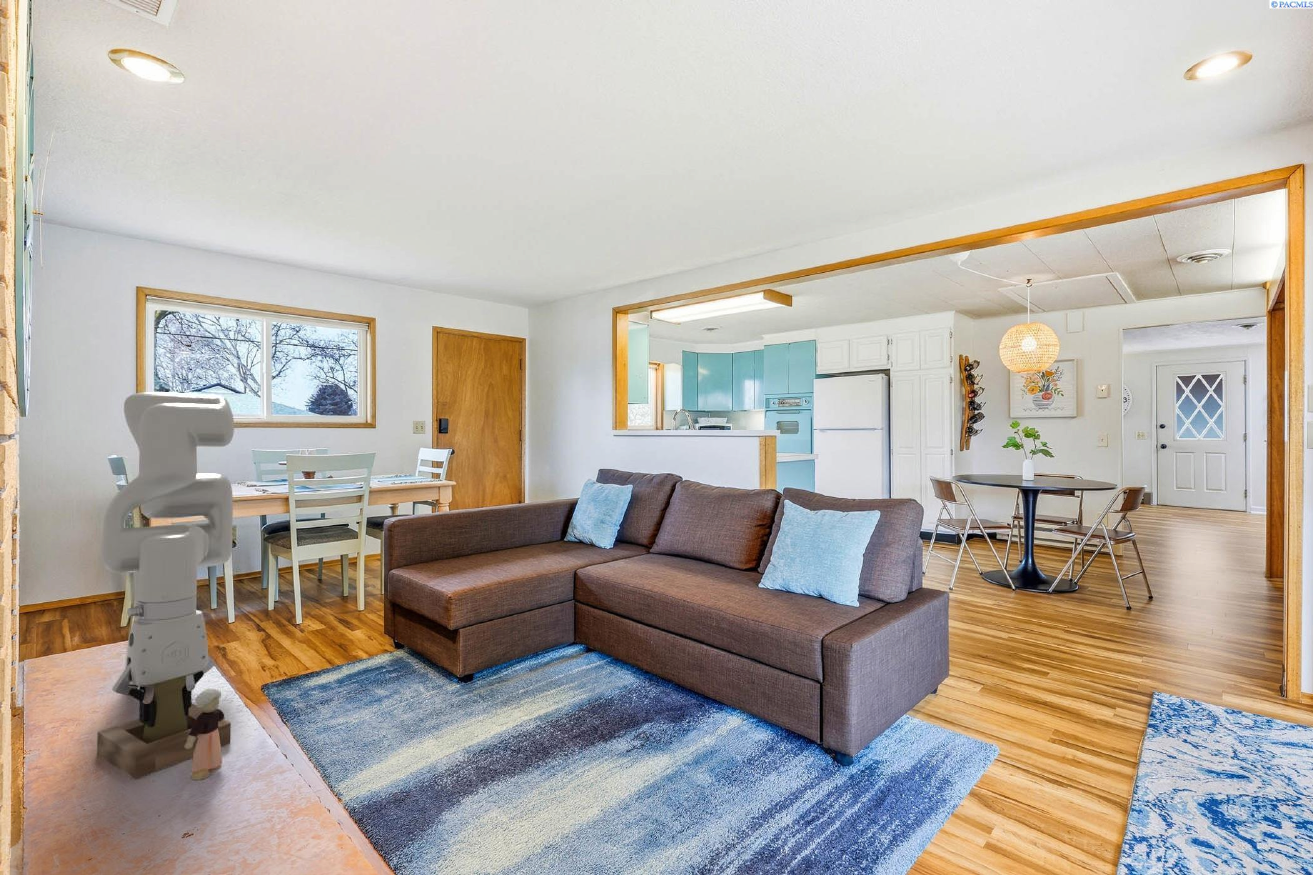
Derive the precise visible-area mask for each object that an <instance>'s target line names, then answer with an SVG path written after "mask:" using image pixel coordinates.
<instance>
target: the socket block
mask: <svg viewBox="0 0 1313 875" xmlns="http://www.w3.org/2000/svg"><path fill="white" fill-rule="evenodd" d="M201 713H202V711H200V709H199V707H197V706H196V704H194V703H192V702H191V707H190V708H189V714H188V715H187V716H186V720H187V727H188V730H186V731H183V732H180V733H177V734H174V735H171V736H169V737H166V738H163V739H160V740H157V741H154V742H151V743H148V744H146V743H145V742H143V741H142V739H143V733H144V728H145V724H143V723H142V722H140V720H139V718H138V719H133V720H131V721H128V722H124V723H121V724H118V725H115V726H112V727H108V728H106V729H102V730H99V731H97V734H96V735H97V741H96V742H97V743H96V744H97V746H96V753H97V755H99V756H100V757H102V758H103V759H105V760H106V761H107V762H109V763H110V764H112V765H114V767H116V768H117V769H119V770H121V772H123V773H125V774H126V775H128V776H129V777H131V778H132V779H133V780H138V779H141V778H144V777H146V776H149V775H151V773H152V774H154V773H157V772H159V771H163V770H164V769H168V768H169V767H172V766H175V765H177V764H181V763H182V762H185V761H188V760H191V759H193V754H194V750H195V747H196V743H197V741H198V737H196V739H195V741H194V742H193V747H192V748H190V749H185V744H186V743H187V739H188V735H189V733H190V731H191V729H192V727H193V725H194V723H195V721H196V719H197V717H198V716H199V715H200V714H201ZM231 728H232V722H230V721H229V720H226V725H224V726H219V723H218V731H219V738H220V745H221V748H222V747H224V746H227V745H230V744H231V738H232V737H231V736H232V735H231V732H232V730H231ZM143 776H144V777H143Z"/></svg>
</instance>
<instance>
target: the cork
mask: <svg viewBox="0 0 1313 875" xmlns="http://www.w3.org/2000/svg"><path fill="white" fill-rule="evenodd" d="M185 683H186V676H184V677H181V678H177V679H173V680H170V681H166V682H163V683H159V684H155V685H154V694H153V701H155V702H156V718H155V726H153V727H151V728H150V727H148V726H147V725H145V728H144V733H143V739H142V741H143V742H145V743H146V744H148V743H151V742H154V741H157V740H160V739H163V738H166V737H169V736H171V735H174V734H177V733H180V732H183V731H186V730H188V727H187V720H186V716H185V711H184V705H183V695H182V688H183V687H184V686H185Z"/></svg>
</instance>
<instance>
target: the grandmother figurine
mask: <svg viewBox="0 0 1313 875" xmlns="http://www.w3.org/2000/svg"><path fill="white" fill-rule="evenodd" d="M221 697H222V692H221V690H219V689H217V688H207V689H204V690H203V691H201V692H200V693H199V694H198V695H197V696H196V698H195V705H196V706H197V707H199V709H200V711H202V713H201V714H200V715H199V716H198V717H197V719H196V721H195V723H194V725H193V727H192V729H191V731H190V733H189V735H188V739H187V743H186V744H185V749H190V748H192V747H193V742H194V741H195V739H196V737H198V741H197V743H196V747H195V750H194V754H193V758H192V768H191V771H192V772H191V773H190V775H189V778H190V779H192V780H194V781H202V780H204V779H207V778H209V776H211V773H210V772H214V771H216V770H219V769H220V768H221V767H222V765H223V754H222V747H221V745H220V738H219V731H218V723H219V726H224V725H226V721H227V719H226V717H225V713H224V712H223V711H222V710H221V709H219V708H218V707H219V706H220V699H221Z"/></svg>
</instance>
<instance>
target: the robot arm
mask: <svg viewBox="0 0 1313 875" xmlns="http://www.w3.org/2000/svg"><path fill="white" fill-rule="evenodd" d="M123 413H124V417H125V422H126V424H127V426H128V429H129V431H130V434H131V436H132V437H133V440H134V441H135V443H136V445H137V448H138V452H139V454H138V455H139V456H138V457H139V458H138V475H137V476H136V477H135V478H134V479H132V480H130V482H128V483H127V484H125V486H124V487H123V488H121V489H120V490H119V492H117V493H116V495H115V496H114V497H113V498H112V499H111V501H110V502H109V504H108V506H107V508H106V510H105V513H104V517H103V524H102V525H103V526H102V540H101V559H102V560H101V561H102V563H103V566H104V567H105V568H106V569H107V570H108V571H110V572H111V573H116V574H131V573H133V581H134V582H133V586H134V589H133V590H134V592H133V593H134V595H133V596H134V601H133V602H134V606H133V607H129V608H127V611H126V613H127V616H128V617H133V622H132V624H131V629H130V632H129V636H128V641H127V647H126V654H125V655H126V656H125V664H124V670H123V671H122V673H121V675H120V676H119V678H118V679H117V681H115V683H114V685H112V686H113V687H112V689H111V690H112V692H114V693H116V694H118V695H119V694H120V695H125V696H129V697H132V698H133V699H134V700H138V701H139V704H138V705H139V710H138V712H139V713H138V719H139V720H140V722H142V723H143V724H145V725H147V726H148V727H150V728H151V727H153V726H155V718H156V702H155V701H153V694H154V685H155V684H159V683H163V682H166V681H170V680H173V679H177V678H181V677H184V676H186V683H185V686H184V687H183V688H182V695H183V705H184V711H185V716H187V715H188V714H189V708H190V707H191V703H192V691H193V690H194V689H195V688H196V685H197V683H199V681H200V680H202V678H203V676H204V675H205V674H206V673H208V672H209V671H210V670H212V669H213V668H214V666H215V665H216V661H214V659H213V658H212V657H211V656H210V655H209V652H208V651H209V650H208V646H209V645H208V637H207V630H206V629H207V628H206V624H205V618H204V614H203V611H201V610H197V592H198V590H197V589H198V588H197V587H198V586H197V584H198V582H197V581H198V579H197V578H198V576H197V575H198V568H205V567H206V568H207V567H216V566H221V565H224V564H225V563H227V562H228V561H229V560H230V558H231V556H232V551H233V528H234V527H233V525H234V524H233V521H234V520H233V516H234V515H233V511H234V507H233V506H234V505H233V504H234V503H233V502H234V501H233V500H234V498H233V489H232V488H233V487H232V485H231V481H230V479H229V478H228V477H227V476H225V475H224V474H221V473H220V474H219V473H198V462H197V461H198V458H197V455H198V454H197V451H198V450H197V448H202V447H203V448H204V447H205V448H206V447H209V448H210V447H211V448H212V447H213V448H218V447H219V448H220V447H223V448H224V447H226V446H229V444H230V443H231V442H232V441H233V437H234V433H235V420H234V414H233V412H232V408H231V407H230V403H229V402H228V400H227V398H225V396H222V395H217V394H199V393H183V392H167V391H166V392H165V391H147V392H145V391H143V392H138V393H133V394H130V395H129V396H128V397H126V399H125V400H124V403H123ZM139 507H140V509H141V512H142V514H143V516H145V517H146V518H149V519H154V520H155V519H157V520H162V519H163V520H167V519H168V520H169V519H170V520H171V519H172V520H173V519H189V518H190V519H191V518H194V519H195V518H203V519H206V520H207V521H208V522H204V523H203V522H202V523H201V522H199V523H179V524H165V525H164V524H163V525H152V526H137V527H125V522H126V519H127V517H128V516H129V515H130V513H132V512H133V511H134V510H135V509H137V508H139ZM130 685H132V686H130ZM134 686H138V687H137V688H136V687H134Z"/></svg>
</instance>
